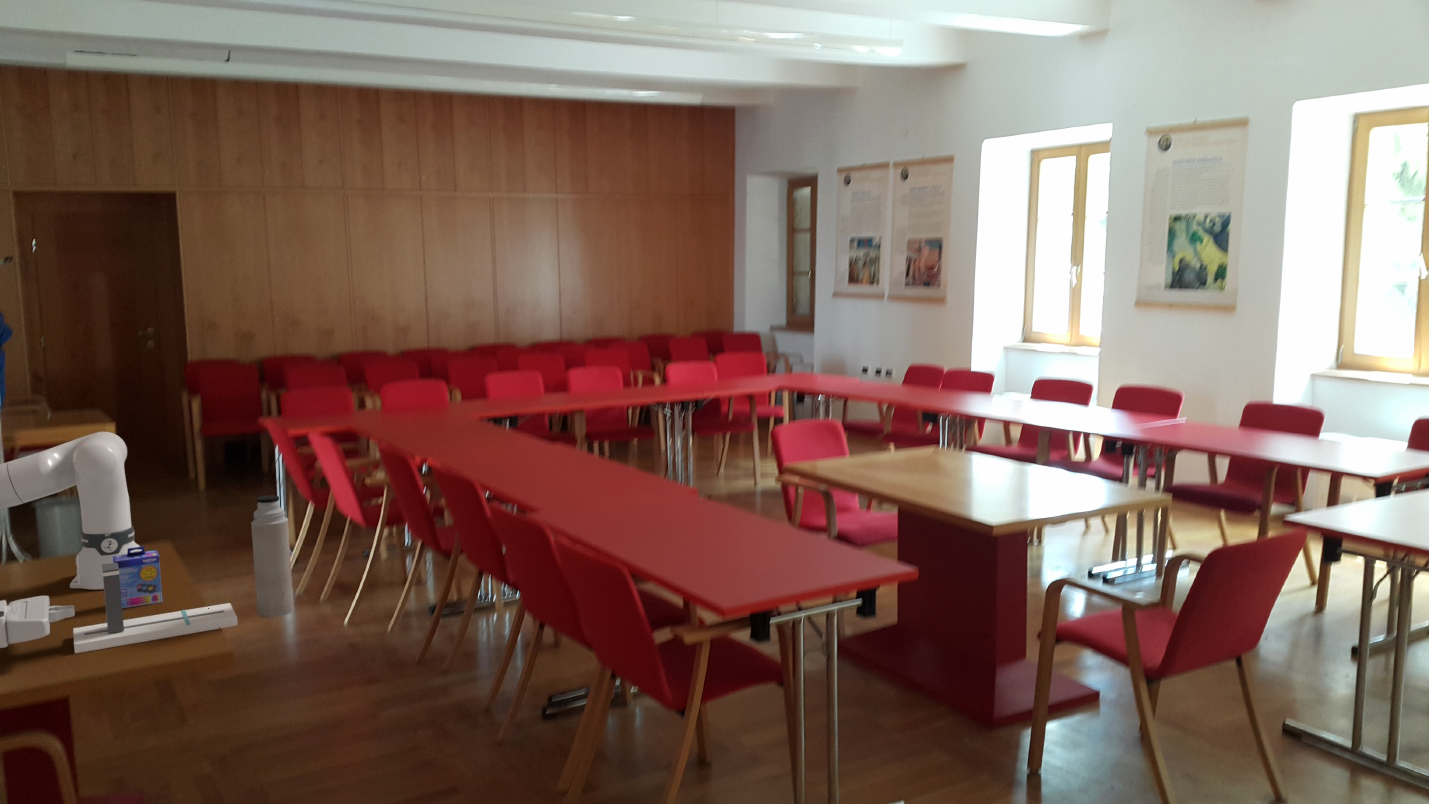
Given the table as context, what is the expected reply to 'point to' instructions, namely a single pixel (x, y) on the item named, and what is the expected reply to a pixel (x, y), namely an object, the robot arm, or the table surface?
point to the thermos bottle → (272, 559)
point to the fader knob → (112, 597)
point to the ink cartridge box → (139, 577)
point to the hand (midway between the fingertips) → (74, 610)
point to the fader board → (155, 627)
